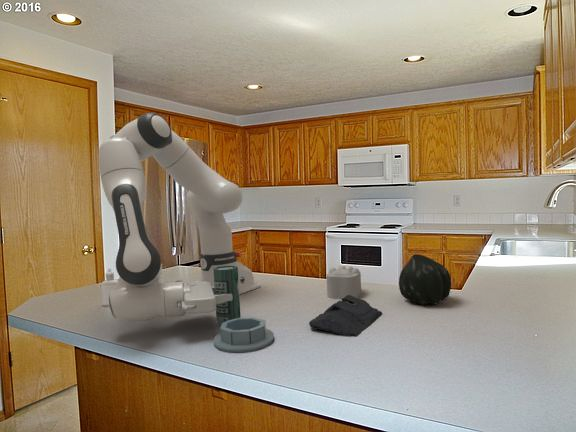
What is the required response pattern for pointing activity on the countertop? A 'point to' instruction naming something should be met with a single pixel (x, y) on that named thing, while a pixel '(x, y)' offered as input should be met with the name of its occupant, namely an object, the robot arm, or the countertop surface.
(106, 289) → the eye dropper bottle
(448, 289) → the squash
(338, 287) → the lumpy-topped squat cylinder
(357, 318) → the dark slate chunk
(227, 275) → the can
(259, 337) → the collar seat
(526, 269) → the countertop surface
